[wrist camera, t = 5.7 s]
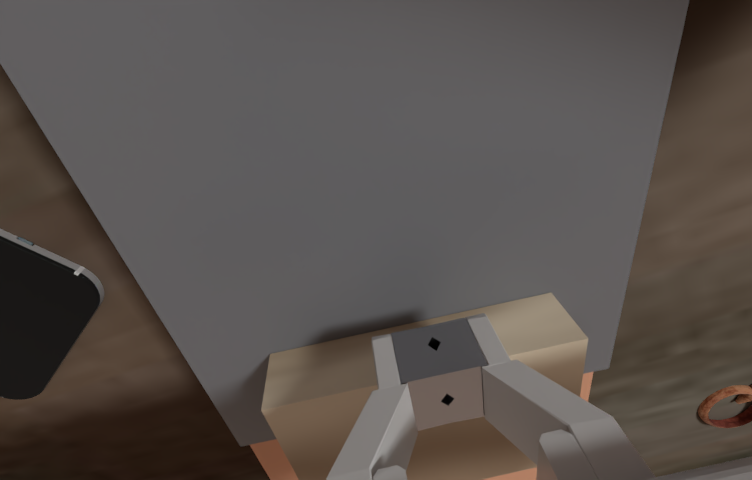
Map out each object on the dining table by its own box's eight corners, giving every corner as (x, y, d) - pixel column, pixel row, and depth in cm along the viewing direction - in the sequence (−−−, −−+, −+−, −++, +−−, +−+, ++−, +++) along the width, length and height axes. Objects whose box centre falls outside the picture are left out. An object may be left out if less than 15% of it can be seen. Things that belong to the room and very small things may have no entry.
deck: (-6, -96, 8) (-123, -133, 6) (644, -223, 8) (756, -304, 6) (251, 390, 16) (240, 446, 14) (572, 322, 17) (608, 368, 14)
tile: (270, 354, 12) (261, 410, 10) (550, 292, 12) (588, 338, 10) (319, 458, 15) (318, 515, 13) (543, 409, 15) (570, 459, 14)
